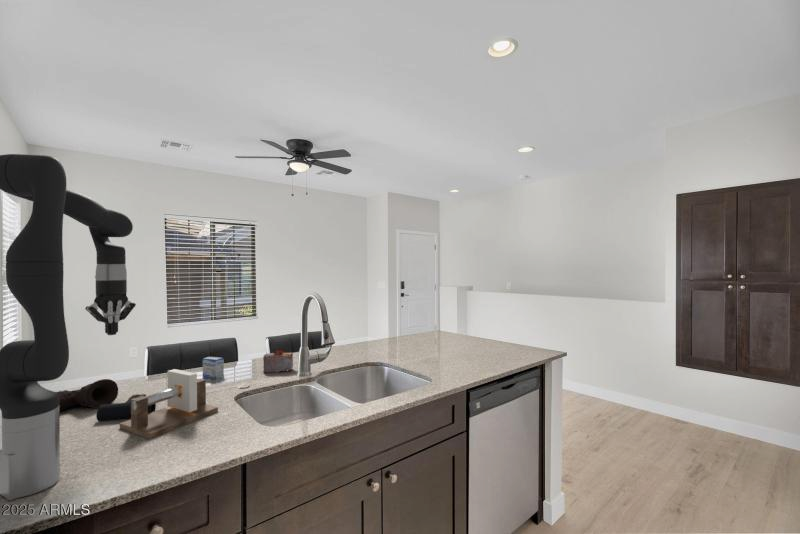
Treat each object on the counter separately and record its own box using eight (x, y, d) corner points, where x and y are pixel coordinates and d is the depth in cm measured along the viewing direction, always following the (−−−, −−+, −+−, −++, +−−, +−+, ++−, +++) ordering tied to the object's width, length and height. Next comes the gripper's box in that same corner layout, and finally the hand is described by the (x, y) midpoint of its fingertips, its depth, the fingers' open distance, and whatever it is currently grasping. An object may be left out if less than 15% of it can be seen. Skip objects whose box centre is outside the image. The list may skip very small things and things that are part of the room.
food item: (293, 367, 178) (293, 347, 178) (292, 372, 170) (292, 351, 170) (264, 369, 175) (264, 349, 175) (262, 374, 167) (261, 353, 167)
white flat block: (189, 412, 117) (189, 375, 117) (167, 406, 123) (167, 370, 123) (197, 409, 119) (196, 373, 119) (174, 403, 125) (174, 369, 125)
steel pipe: (137, 411, 107) (137, 400, 107) (130, 409, 109) (130, 398, 109) (205, 388, 127) (205, 379, 127) (199, 387, 128) (199, 378, 128)
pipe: (41, 390, 124) (72, 386, 120) (88, 380, 139) (118, 375, 135) (42, 419, 123) (74, 416, 119) (90, 405, 138) (120, 402, 134)
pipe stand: (149, 438, 104) (149, 404, 104) (119, 428, 112) (119, 395, 112) (217, 411, 124) (217, 382, 124) (188, 403, 131) (188, 376, 131)
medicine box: (202, 377, 162) (202, 358, 162) (210, 374, 166) (210, 356, 166) (216, 379, 160) (216, 359, 160) (224, 376, 164) (224, 357, 164)
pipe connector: (115, 394, 127) (163, 390, 130) (115, 409, 127) (163, 405, 131) (96, 407, 116) (149, 403, 119) (96, 424, 116) (149, 419, 119)
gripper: (91, 279, 104) (92, 339, 104) (141, 278, 116) (141, 332, 116) (78, 279, 107) (79, 337, 107) (128, 278, 119) (129, 330, 119)
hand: (111, 334), depth 112 cm, fingers closed
